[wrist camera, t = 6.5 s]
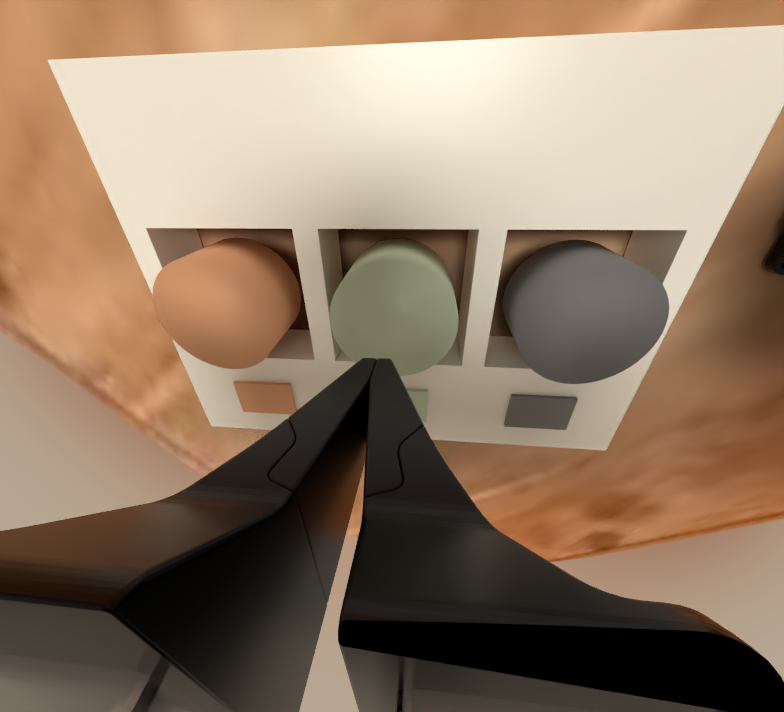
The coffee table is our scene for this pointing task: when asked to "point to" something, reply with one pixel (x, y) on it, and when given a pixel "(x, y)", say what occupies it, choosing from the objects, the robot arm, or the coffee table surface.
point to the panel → (434, 186)
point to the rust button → (228, 302)
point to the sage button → (396, 307)
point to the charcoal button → (583, 312)
